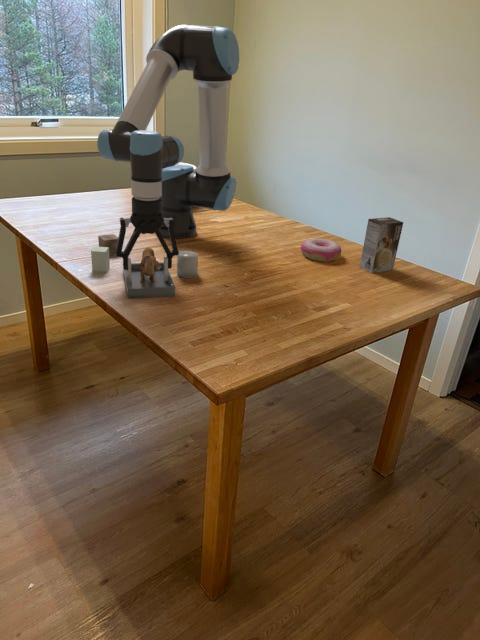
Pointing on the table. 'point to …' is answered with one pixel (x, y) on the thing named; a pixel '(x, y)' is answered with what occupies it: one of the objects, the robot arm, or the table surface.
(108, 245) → the walnut block
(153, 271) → the lion figurine
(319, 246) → the donut
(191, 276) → the pale grey rounded cylinder
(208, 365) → the table surface
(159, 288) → the slate tray
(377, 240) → the coffee box
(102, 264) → the sage block
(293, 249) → the table surface
